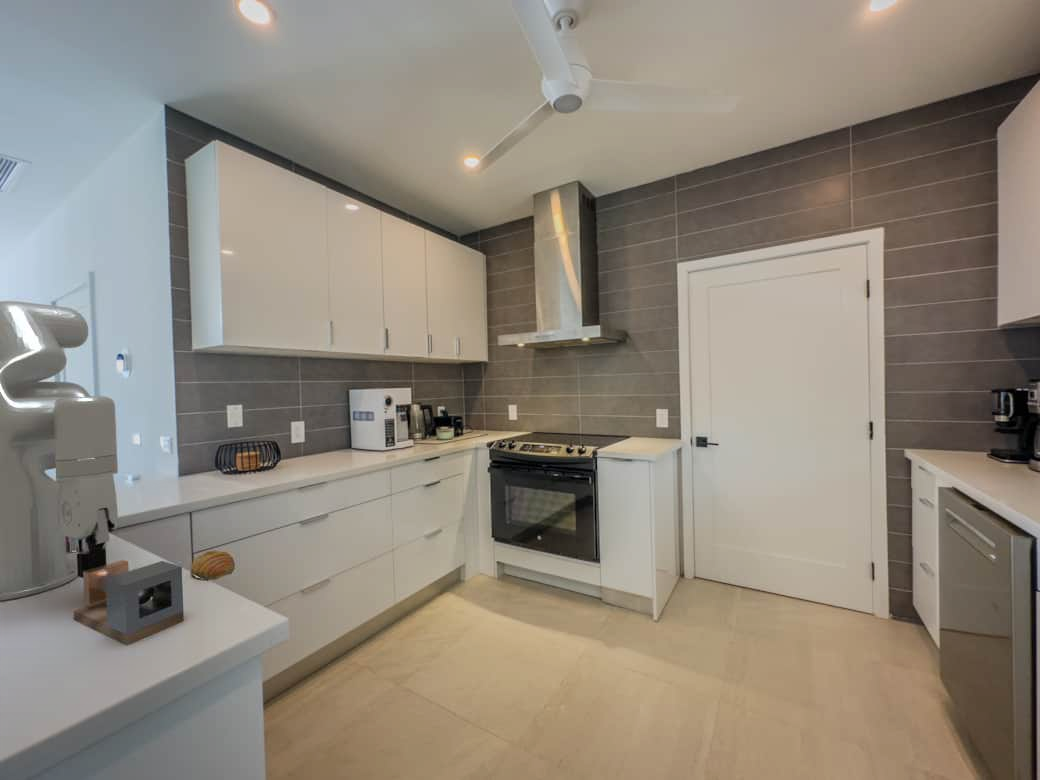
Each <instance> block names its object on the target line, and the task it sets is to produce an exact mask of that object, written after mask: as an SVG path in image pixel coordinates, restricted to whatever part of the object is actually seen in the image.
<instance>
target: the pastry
mask: <svg viewBox="0 0 1040 780" xmlns="http://www.w3.org/2000/svg"><path fill="white" fill-rule="evenodd" d="M235 567H236V563H235V560H234V558H233V556H231V554H230V553H228V552H226V551H219V550H210V551H206V552H204V553H202V554H201V555H198V556H197V557H196V558H195V559H194V560H193V561H192V563H191V566H190V574H191V573H192V574H194V575H196V576H198V577H200V578H203V579H205V580H204V581H213V580H214V581H216V580H219V579H221V578H222V577H227V576H229V575H232V574H233V573H234V571H235V569H236V568H235ZM192 574H191V575H192ZM203 579H202V580H203Z"/></svg>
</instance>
